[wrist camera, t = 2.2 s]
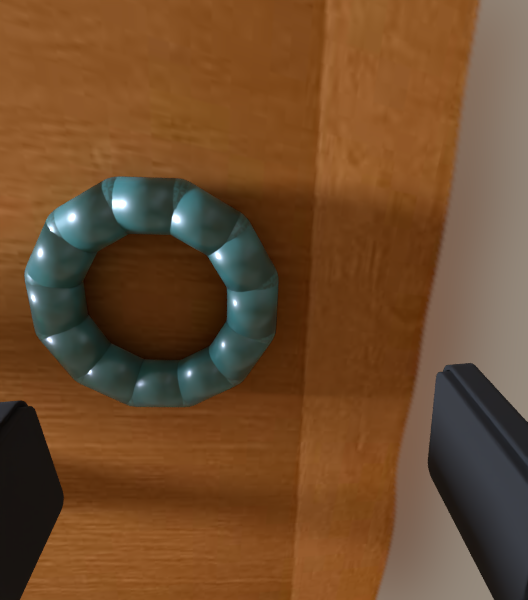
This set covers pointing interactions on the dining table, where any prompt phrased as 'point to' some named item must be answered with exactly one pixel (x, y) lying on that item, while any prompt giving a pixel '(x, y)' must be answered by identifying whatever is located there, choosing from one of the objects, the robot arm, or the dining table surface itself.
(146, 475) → the dining table surface
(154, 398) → the ring
